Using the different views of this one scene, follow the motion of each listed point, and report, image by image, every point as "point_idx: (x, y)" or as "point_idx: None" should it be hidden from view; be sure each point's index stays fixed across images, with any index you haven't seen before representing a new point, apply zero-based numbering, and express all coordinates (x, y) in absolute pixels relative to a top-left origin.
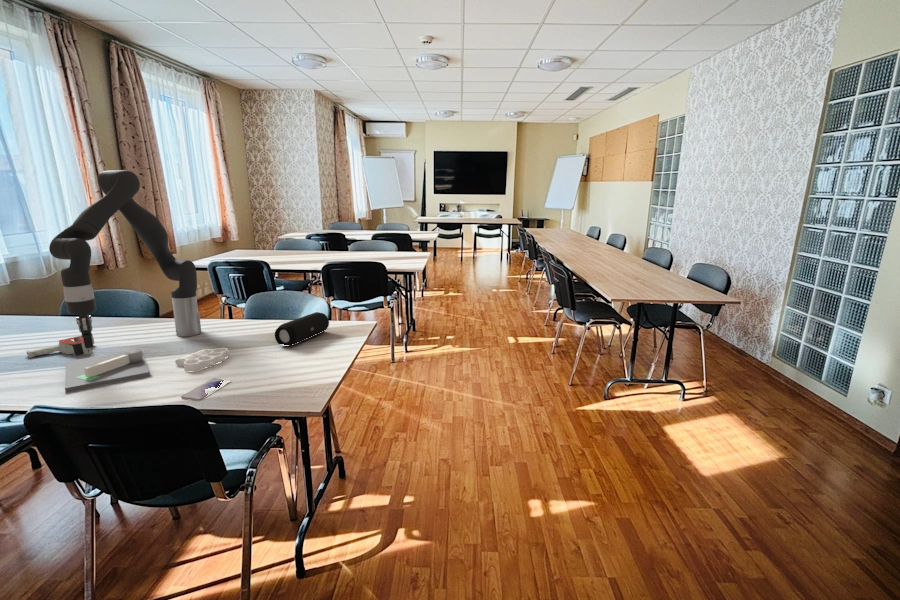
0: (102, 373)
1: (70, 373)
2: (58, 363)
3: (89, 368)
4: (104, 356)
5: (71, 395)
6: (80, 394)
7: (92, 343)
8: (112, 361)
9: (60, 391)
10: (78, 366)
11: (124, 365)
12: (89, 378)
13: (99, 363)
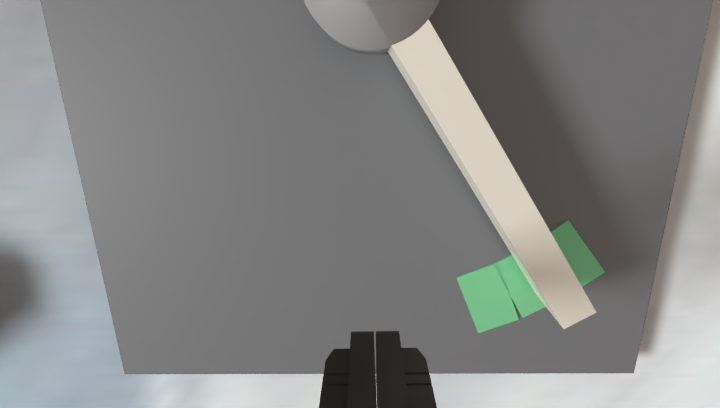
0: None
1: None
2: (82, 388)
3: (586, 298)
4: (119, 186)
5: (679, 333)
6: (701, 300)
7: (401, 357)
8: (504, 152)
9: None
10: (269, 321)
11: None
12: None
13: (524, 241)
